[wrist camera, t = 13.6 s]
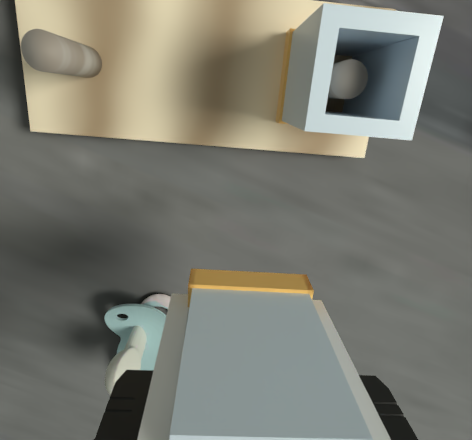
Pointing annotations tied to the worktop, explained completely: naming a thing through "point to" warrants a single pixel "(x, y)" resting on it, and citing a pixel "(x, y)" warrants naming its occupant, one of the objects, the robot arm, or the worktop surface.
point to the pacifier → (136, 336)
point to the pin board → (174, 72)
